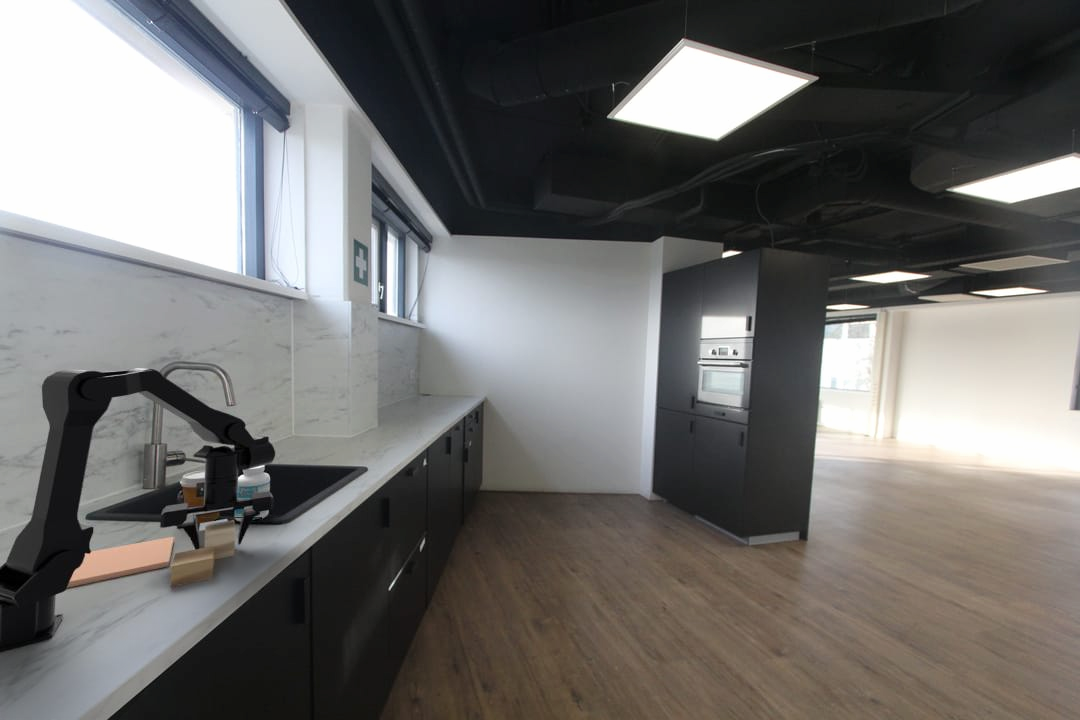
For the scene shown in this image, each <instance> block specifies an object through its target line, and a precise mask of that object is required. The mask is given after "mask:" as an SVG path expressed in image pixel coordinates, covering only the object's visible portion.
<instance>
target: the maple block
mask: <svg viewBox="0 0 1080 720" xmlns="http://www.w3.org/2000/svg"><path fill="white" fill-rule="evenodd" d="M235 524H236V523H235V519H232V520H227V521H225V522H219V523H213V524H207V525H205V546H204V547H203V548H206V547H212V546H215V551H214V561H215V560H219V559H224V558H228V557H233V556H235V543H236V541H235V540H236V525H235Z"/></svg>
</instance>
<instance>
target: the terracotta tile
mask: <svg viewBox="0 0 1080 720" xmlns="http://www.w3.org/2000/svg"><path fill="white" fill-rule="evenodd" d="M174 541H175V537H174V536H169V537H165V538H159V539H153V540H149V541H148V540H147V541H143V542H136V543H132V544H125V545H120V546H113V547H108V548H104V549H103V548H102V549H98V550H93V551H91V553H90V554H87V553H85V558H84V560H83V563H82V564H81V566H80V567H79V568H77V569H76V570H75V571H74V573H73V575H72V577H71V579H70V582H69V584H68V586H67V588H66V589H68V588H72V587H76V586H81V585H86V584H91V583H95V582H101V581H104V580H109V579H115V578H119V577H125V576H128V575H133V574H134V575H135V574H138V573H144V572H147V571H153V570H156V569H161V568H162V569H163V568H166V567H169V565H170V562H171V557H172V553H173V552H172V551H173V547H174Z"/></svg>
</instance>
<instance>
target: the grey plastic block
mask: <svg viewBox="0 0 1080 720" xmlns="http://www.w3.org/2000/svg"><path fill="white" fill-rule="evenodd" d="M225 521H228V518H224V519H218V520H216V521H211V522H205V523H200V525H199V527H198V534H199V541H200V549H201V548H204V546H205V525H207V524H213V523H219V522H225Z"/></svg>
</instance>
